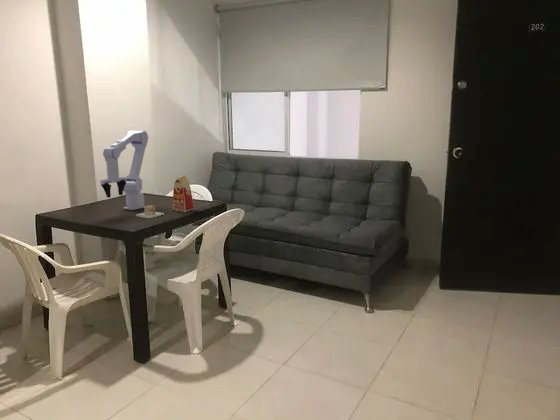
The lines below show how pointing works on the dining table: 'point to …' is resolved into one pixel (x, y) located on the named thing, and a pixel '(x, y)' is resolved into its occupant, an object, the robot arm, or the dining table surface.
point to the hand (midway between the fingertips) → (114, 196)
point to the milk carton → (182, 195)
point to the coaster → (149, 215)
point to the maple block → (149, 210)
